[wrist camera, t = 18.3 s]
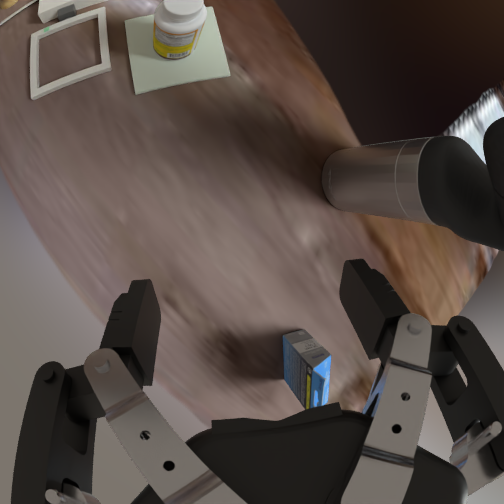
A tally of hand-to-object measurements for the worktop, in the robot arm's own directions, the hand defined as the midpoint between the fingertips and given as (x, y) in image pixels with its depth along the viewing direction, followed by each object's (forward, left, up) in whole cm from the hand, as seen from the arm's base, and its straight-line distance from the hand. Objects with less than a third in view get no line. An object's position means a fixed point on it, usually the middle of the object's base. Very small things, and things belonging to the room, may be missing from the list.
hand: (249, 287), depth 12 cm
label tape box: (-10, +24, -24) cm, 35 cm away
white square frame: (+10, -27, -24) cm, 38 cm away
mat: (-4, -23, -24) cm, 34 cm away
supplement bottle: (-3, -23, -24) cm, 33 cm away
